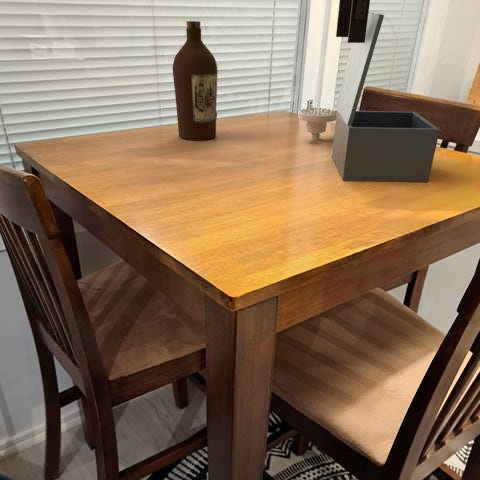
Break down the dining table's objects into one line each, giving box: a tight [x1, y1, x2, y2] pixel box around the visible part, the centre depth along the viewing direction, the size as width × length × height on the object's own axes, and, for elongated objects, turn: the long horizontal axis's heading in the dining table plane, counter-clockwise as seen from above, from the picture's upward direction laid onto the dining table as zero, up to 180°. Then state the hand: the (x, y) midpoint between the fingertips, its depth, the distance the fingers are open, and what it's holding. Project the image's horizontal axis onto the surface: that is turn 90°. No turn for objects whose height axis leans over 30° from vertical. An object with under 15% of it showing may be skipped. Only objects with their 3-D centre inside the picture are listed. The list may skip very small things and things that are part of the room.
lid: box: [334, 12, 385, 126], centre depth 93 cm, size 18×17×1 cm
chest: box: [331, 110, 441, 183], centre depth 100 cm, size 17×17×10 cm
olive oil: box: [172, 20, 218, 141], centre depth 119 cm, size 11×11×25 cm
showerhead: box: [297, 107, 337, 141], centre depth 122 cm, size 9×7×10 cm
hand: (349, 39), depth 88 cm, fingers open, 13 cm apart
